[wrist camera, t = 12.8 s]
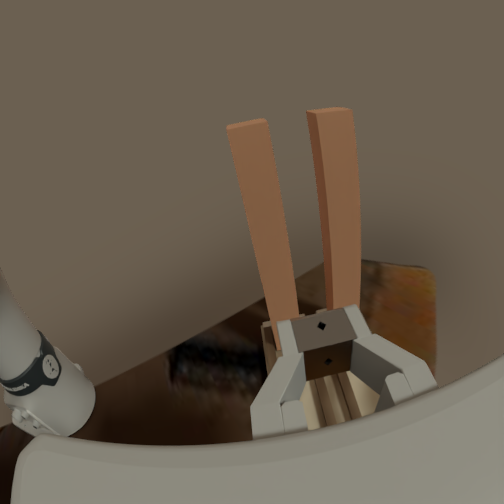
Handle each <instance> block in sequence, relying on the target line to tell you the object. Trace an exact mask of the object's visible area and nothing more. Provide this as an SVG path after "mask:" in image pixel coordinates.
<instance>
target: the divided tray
mask: <svg viewBox="0 0 504 504" xmlns="http://www.w3.org/2000/svg"><path fill="white" fill-rule="evenodd" d="M359 310H360V308H359ZM325 311H327V308H325V309H321V310H317V311H316V314H317V313H321V312H325ZM360 312H361V310H360ZM361 314H362V312H361ZM312 315H313V314H312ZM303 316H305V314H300V315H299V317H303ZM362 316H363V314H362ZM363 318H364V316H363ZM364 320H365V318H364ZM365 322H366V320H365ZM366 324H367V322H366ZM367 326H368V324H367ZM368 328H369V326H368ZM369 330H370V328H369ZM261 332H262V339H263V346H264V353H265V360H266V367H267V374H268V375H269V374H270V372H271V370H272V368H273V366H274V364H275V363H276V361H277V359H278V357H282V351H281V350H278V351H277V347H276V343H275V338H274V334H273V330H272V325H271V321H267V322H263V325H262V326H261ZM370 332H371V330H370ZM371 334H372V332H371ZM379 397H380V395H379V394H377V393H376V392H375V391H374V390H372V389H371V388H370V387H369V386H367V385H366V384H365V383H364V382H362V381H361V380H360V379H359V378H357V377H356V376H355V375H354V374H353V373H351V372H350V371H346V372H342V373H338V374H334V375H329V376H325V377H322V378H318V379H314V380H310V381H306V385H305V387H304V390H303V392H302V395H301V397H300V400H299V401H301V402H302V403H303V408H304V412H305V417H306V421H307V425H308V430H314V429H318V428H323V427H327V426H331V425H335V424H339V423H342V422H346V421H350V420H353V419H356V418H360V417H363V416H366V415H370V414H373V413H375V412H374V411H375V409H376V406H377V403H378V400H379Z"/></svg>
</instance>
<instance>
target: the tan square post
mask: <svg viewBox="0 0 504 504" xmlns="http://www.w3.org/2000/svg"><path fill="white" fill-rule="evenodd" d="M306 113H307V120H308V126H309V133H310V140H311V146H312V153H313V160H314V168H315V176H316V184H317V193H318V201H319V211H320V220H321V231H322V241H323V255H324V269H325V285H326V303H327V311H329V310H333V309H337V308H342V307H345V306H349V305H353V304H356V305H357V306H358V308H359V303H360V278H361V216H360V215H361V214H360V191H359V174H358V160H357V148H356V138H355V129H354V120H353V112H352V110H351V109H347V108H342V107H334V108H324V109H316V110H309V111H306Z"/></svg>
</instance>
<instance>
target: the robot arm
mask: <svg viewBox="0 0 504 504" xmlns="http://www.w3.org/2000/svg"><path fill="white" fill-rule="evenodd" d="M276 326H277V331H278V336H279V341H280V346H281V351H282V357H278V359H277V361H276V363H275V364H274V366H273V368H272V370H271V372H270V374H269V375H268V377H267V379H266V381H265V382H264V384H263V386H262V388H261V389H260V391H259V393H258V395H257V396H256V398H255V400H254V402H253V403H252V405H251V407H250V409H251V421H252V433H253V440H251V441H243V442H233V443H222V444H208V445H182V446H158V445H133V444H119V443H108V442H99V441H91V440H83V439H77V438H71V437H68V436H69V435H71V434H73V433H75V432H76V431H78V430H79V429H80V428H81V427H82V426H83V425H84V424H85V423H86V421H87V420H88V418H89V417H90V415H91V413H92V411H93V408H94V404H95V389H94V386H93V384H92V383H91V381H90V380H89V379H88V378H87V377H86V376H85V375H84V373H83V369H82V367H81V366H80V365H78V364H73V363H72V362H71V361H70V360H69V359H67V357H66V356H65V355H64V354H63V353H62V352H61V351H60V350H59V349H58V348H56V347H55V346H52V345H51V344H50V342H49V340H48V339H47V338H46V337H45V336H44V335H43V334H42V333H41V332H40V331H39V330H36V328H35V327H34V326H33V324H32V323H31V322H30V320H29V319H28V317H27V316H26V314H25V313H24V311H23V310H22V308H21V307H20V306H19V304H18V303H17V301H16V299H15V298H14V296H13V294H12V292H11V290H10V288H9V286H8V284H7V282H6V279H5V277H4V275H3V273H2V270H1V268H0V383H1V385H2V386H3V387H4V388H5V389H4V402H5V403H6V405H7V406H8V407H9V408H10V409H11V410H12V411H13V413H12V421H13V424H15V425H16V426H17V427H18V428H20V429H22V430H23V431H25V432H27V433H28V434H30V435H32V436H34V437H35V438H34V439H33V440H32V441H31V442H30V443H29V444H28V445H27V446H26V447H25V448H24V449H23V450H22V451H21V453H20V454H19V457H18V459H17V463H16V467H15V473H14V479H13V485H12V494H11V504H504V354H502V355H501V356H499V357H497V358H496V359H494V360H492V361H491V362H489V363H487V364H485V365H484V366H482V367H480V368H478V369H476V370H474V371H473V372H471V373H469V374H467V375H465V376H463V377H461V378H459V379H457V380H455V381H453V382H451V383H449V384H447V385H445V386H442V387H440V388H439V387H438V385H437V383H436V381H435V379H434V378H433V376H432V374H431V372H430V370H429V368H428V366H427V364H426V363H425V361H423V360H422V359H420V358H418V357H416V356H414V355H413V354H411V353H409V352H407V351H405V350H404V349H402V348H400V347H398V346H397V345H395V344H393V343H391V342H389V341H388V340H386V339H384V338H382V337H381V336H379V335H377V334H371V332H370V330H369V328H368V326H367V324H366V322H365V320H364V318H363V316H362V314H361V312H360V310H359V308H358V306H357V305H356V304H353V305H349V306H345V307H342V308H337V309H333V310H329V311H325V312H321V313H317V314H313V315H308V316H303V317H297V318H292V319H288V320H283V321H277V322H276ZM346 371H350V372H351V373H353V374H354V375H355V376H356V377H357V378H359V379H360V380H361V381H362V382H364V383H365V384H366V385H367V386H369V387H370V388H371V389H372V390H374V391H375V392H376V393H377V394H379V395H380V397H379V400H378V403H377V406H376V409H375V411H374V412H375V413H373V414H370V415H366V416H363V417H360V418H356V419H353V420H350V421H346V422H342V423H339V424H335V425H331V426H327V427H323V428H318V429H314V430H308V425H307V421H306V417H305V412H304V408H303V403H302V402H301V401H299V400H300V397H301V395H302V392H303V390H304V387H305V385H306V381H310V380H314V379H318V378H322V377H325V376H329V375H334V374H338V373H342V372H346Z"/></svg>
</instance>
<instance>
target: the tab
mask: <svg viewBox="0 0 504 504" xmlns="http://www.w3.org/2000/svg"><path fill="white" fill-rule="evenodd" d="M227 134H228V138H229V143H230V147H231V151H232V155H233V160H234V164H235V169H236V173H237V177H238V181H239V186H240V190H241V194H242V198H243V203H244V207H245V212H246V216H247V220H248V224H249V229H250V233H251V238H252V242H253V246H254V251H255V255H256V260H257V264H258V268H259V273H260V277H261V281H262V286H263V290H264V295H265V299H266V303H267V308H268V312H269V316H270V321H271V325H272V330H273V334H274V338H275V343H276V347H277V351H278V350H281V346H280V341H279V336H278V331H277V326H276V322H277V321H283V320H288V319H292V318H297V317H299V310H298V302H297V295H296V288H295V281H294V274H293V268H292V261H291V255H290V248H289V241H288V234H287V228H286V222H285V216H284V210H283V204H282V198H281V192H280V186H279V181H278V175H277V170H276V164H275V159H274V153H273V148H272V143H271V138H270V132H269V127H268V122H267V121H266V120H265V119H263V118H261V119H255V120H251V121H245V122H240V123H236V124H231V125H227Z"/></svg>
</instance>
